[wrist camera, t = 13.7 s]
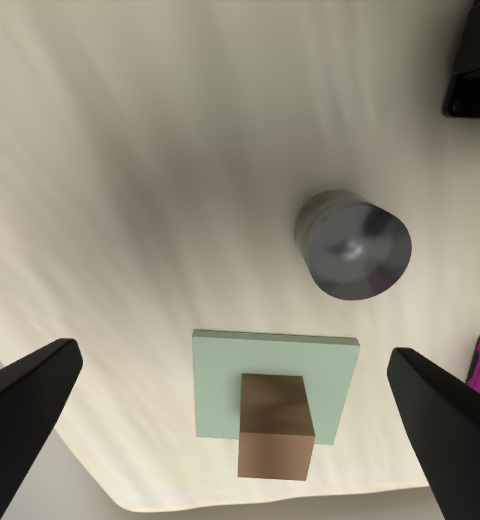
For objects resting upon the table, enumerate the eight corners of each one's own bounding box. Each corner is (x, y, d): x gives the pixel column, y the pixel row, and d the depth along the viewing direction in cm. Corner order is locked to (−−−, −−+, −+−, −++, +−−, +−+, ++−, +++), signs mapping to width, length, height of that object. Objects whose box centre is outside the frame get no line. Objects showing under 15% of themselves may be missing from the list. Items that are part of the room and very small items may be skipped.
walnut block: (302, 376, 23) (315, 436, 18) (295, 417, 25) (305, 480, 20) (241, 373, 23) (239, 432, 18) (240, 414, 25) (237, 477, 20)
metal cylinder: (378, 191, 17) (425, 211, 13) (361, 263, 19) (396, 302, 15) (299, 188, 17) (317, 206, 13) (290, 260, 19) (303, 298, 15)
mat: (356, 338, 22) (360, 345, 21) (330, 436, 27) (332, 445, 26) (194, 330, 22) (192, 336, 21) (197, 428, 27) (196, 437, 26)
